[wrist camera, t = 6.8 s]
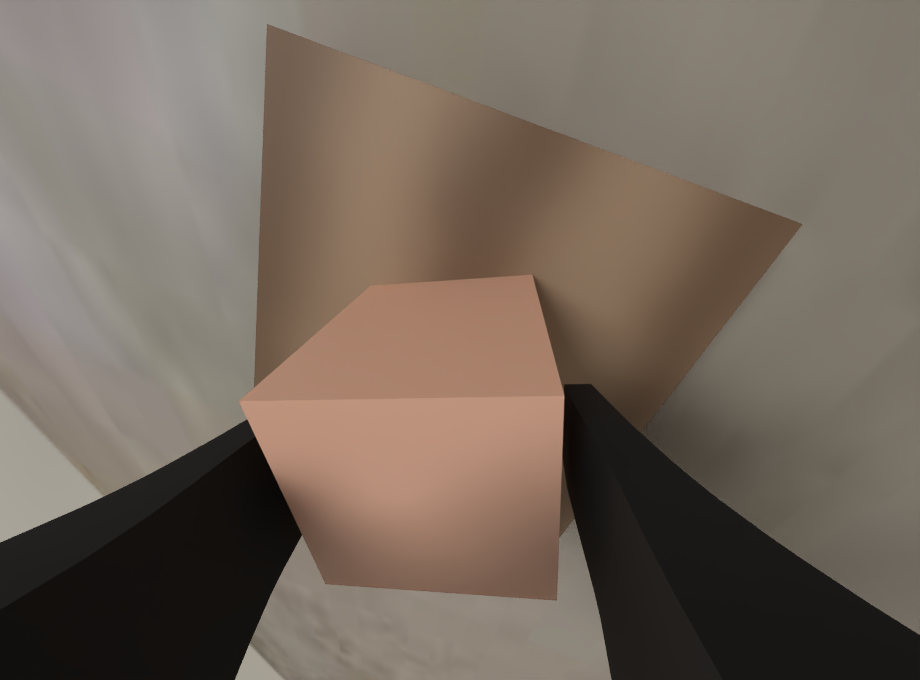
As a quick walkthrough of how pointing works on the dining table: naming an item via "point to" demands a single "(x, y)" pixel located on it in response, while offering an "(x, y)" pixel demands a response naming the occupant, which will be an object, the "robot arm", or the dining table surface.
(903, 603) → the dining table surface
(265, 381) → the terracotta block
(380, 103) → the walnut base
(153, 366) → the dining table surface
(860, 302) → the dining table surface
